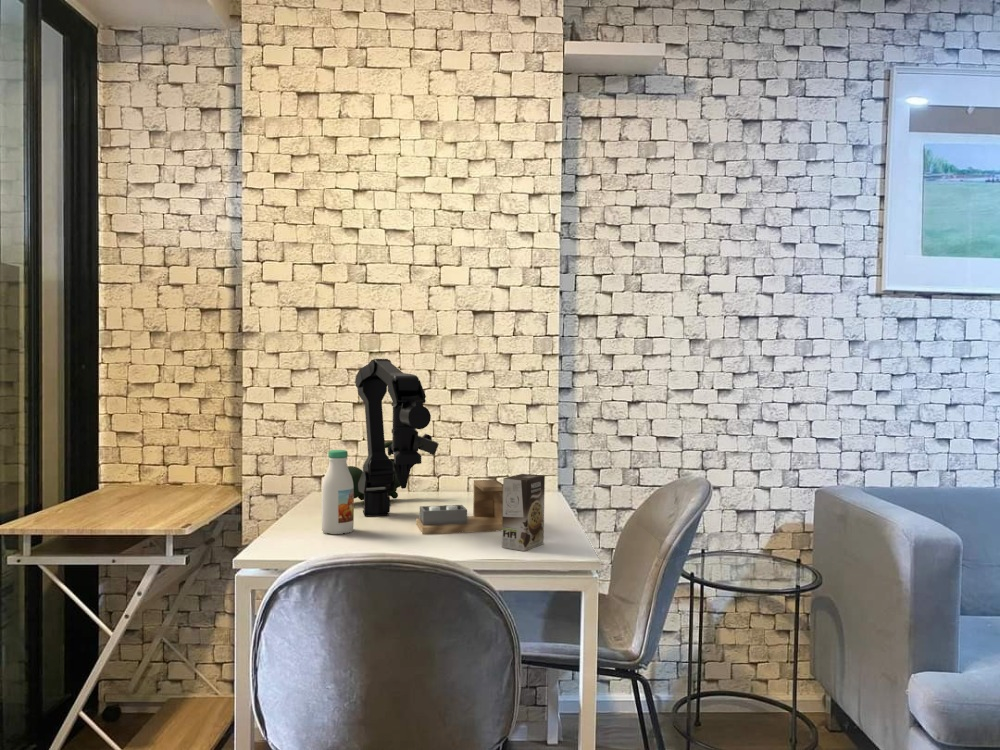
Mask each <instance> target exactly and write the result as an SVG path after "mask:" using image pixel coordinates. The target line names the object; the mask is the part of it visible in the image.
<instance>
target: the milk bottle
mask: <svg viewBox="0 0 1000 750" xmlns="http://www.w3.org/2000/svg"><path fill="white" fill-rule="evenodd" d="M348 454H349V453H348V450H347V449H332V450H328V454H327V455H328V460H329V463H328V467H327V470H326V472H325V474H324V476H323V480H322V485H321V531H323V532H325V533H324V534H327V533H331V534H330V535H343V533H345V534H349V532H350V533H352V532H353V531H354V525H355V524H354V522H355V521H354V520H355V517H354V516H355V515H354V512H355V511H354V507H355V505H354V504H355V501H354V500H355V498H354V487H353V480H352V476H351V474H350V472H349V470H348V467H347V466H348V462H347V461H348ZM323 532H322V533H323Z"/></svg>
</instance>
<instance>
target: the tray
mask: <svg viewBox="0 0 1000 750" xmlns="http://www.w3.org/2000/svg"><path fill="white" fill-rule="evenodd" d="M467 516H468V509H467V508H466V507H465V506H464V505H463V504H449V505H447V504H446V505H424V506H422V505H421V506H419V518H420V521H421V523H422V524H423V526H424V525H447V524H467Z"/></svg>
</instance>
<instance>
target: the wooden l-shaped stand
mask: <svg viewBox="0 0 1000 750" xmlns="http://www.w3.org/2000/svg"><path fill="white" fill-rule="evenodd" d="M472 503H473V507H472V508H473V509H472V510H473V511H472V512H473V513H472V515H471V516H470V515H469V516H468V515H467V524H447V525H424V526H423V524H422V523H421V521H420V517H418V518H417V517H416V519H415V520H416V521H415V523H416V524H415V525H416V526H417V528H418V530H419V532H420V533H421V532H422V533H421V534H422V535H434V534H453V533H454V534H455V533H459V532H460V533H477V532H478V531H482V532H497V531H496V530H502V524H503V483H502V482H500V481H499V480H497V479H478V480H477V479H475V480H473V502H472Z"/></svg>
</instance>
